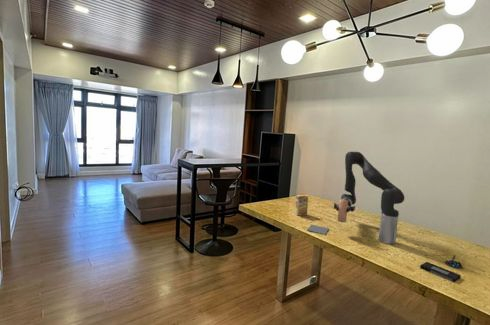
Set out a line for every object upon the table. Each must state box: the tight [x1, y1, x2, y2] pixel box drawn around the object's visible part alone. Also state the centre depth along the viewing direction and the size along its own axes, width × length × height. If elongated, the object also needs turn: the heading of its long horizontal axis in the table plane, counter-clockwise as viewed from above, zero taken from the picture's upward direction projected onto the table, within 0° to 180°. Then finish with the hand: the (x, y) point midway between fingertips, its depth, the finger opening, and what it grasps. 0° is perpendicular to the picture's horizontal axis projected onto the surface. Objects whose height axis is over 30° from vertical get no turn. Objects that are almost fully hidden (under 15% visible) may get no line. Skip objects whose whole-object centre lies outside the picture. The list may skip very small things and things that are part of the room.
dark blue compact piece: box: [444, 254, 463, 270], centre depth 138 cm, size 8×7×8 cm
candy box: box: [294, 194, 309, 216], centre depth 209 cm, size 9×4×15 cm, turn 107°
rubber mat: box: [306, 224, 330, 236], centre depth 178 cm, size 12×12×1 cm
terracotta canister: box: [337, 198, 348, 223], centre depth 172 cm, size 5×5×14 cm
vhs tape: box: [419, 261, 462, 283], centre depth 130 cm, size 8×14×2 cm, turn 34°
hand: (342, 210), depth 170 cm, fingers closed on terracotta canister, 5 cm apart
